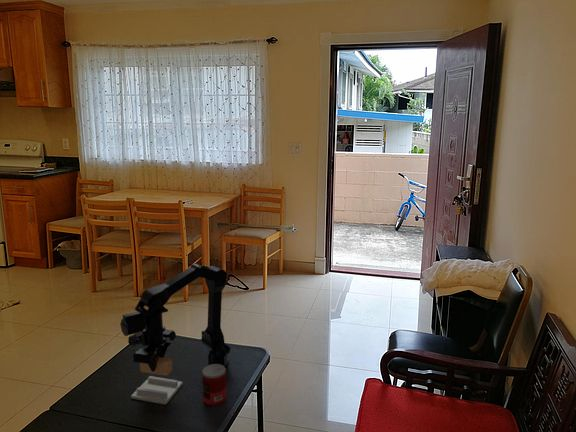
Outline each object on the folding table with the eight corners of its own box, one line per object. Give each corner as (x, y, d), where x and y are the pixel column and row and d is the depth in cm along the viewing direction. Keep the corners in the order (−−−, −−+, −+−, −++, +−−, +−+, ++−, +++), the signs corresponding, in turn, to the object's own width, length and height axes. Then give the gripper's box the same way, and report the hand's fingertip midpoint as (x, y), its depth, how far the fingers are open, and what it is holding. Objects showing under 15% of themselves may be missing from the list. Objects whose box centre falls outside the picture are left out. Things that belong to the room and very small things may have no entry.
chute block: (172, 369, 157) (172, 359, 157) (166, 375, 154) (166, 365, 153) (146, 365, 160) (145, 355, 159) (140, 371, 156) (139, 361, 155)
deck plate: (182, 384, 162) (182, 378, 162) (165, 404, 151) (165, 397, 151) (150, 379, 166) (149, 372, 165) (131, 398, 154) (130, 391, 154)
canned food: (230, 394, 157) (229, 365, 154) (219, 408, 149) (218, 378, 147) (210, 390, 159) (209, 361, 157) (198, 403, 152) (197, 373, 149)
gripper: (147, 312, 164) (150, 351, 167) (116, 336, 146) (119, 379, 150) (175, 315, 161) (177, 355, 165) (147, 340, 143) (150, 384, 147)
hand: (156, 368), depth 156 cm, fingers closed on chute block, 4 cm apart
